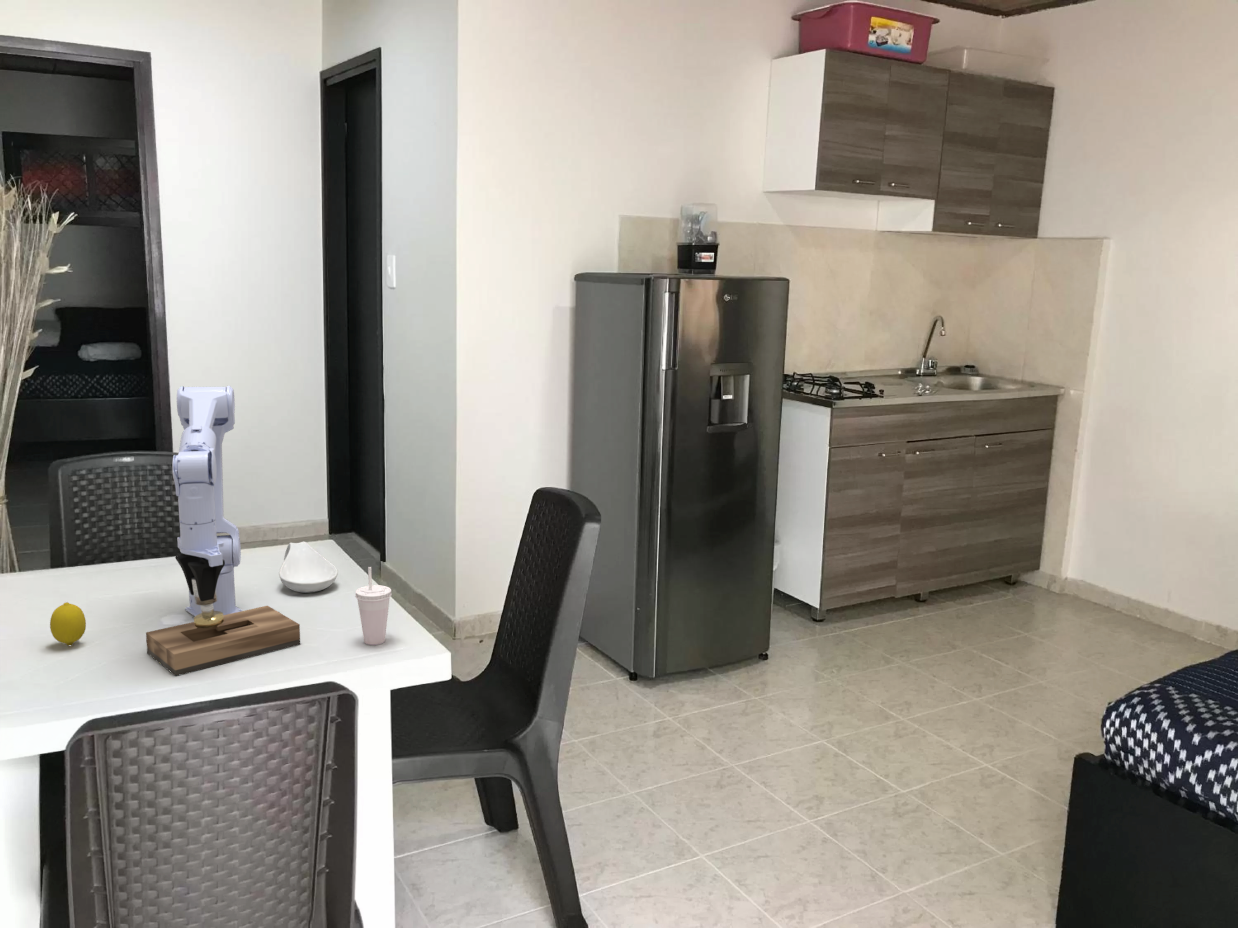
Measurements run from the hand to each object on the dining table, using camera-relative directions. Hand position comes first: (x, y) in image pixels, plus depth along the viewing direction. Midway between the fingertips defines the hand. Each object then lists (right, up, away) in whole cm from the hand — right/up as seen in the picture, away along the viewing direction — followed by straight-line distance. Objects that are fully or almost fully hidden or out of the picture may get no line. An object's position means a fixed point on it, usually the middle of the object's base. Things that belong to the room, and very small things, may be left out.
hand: (202, 596), depth 176 cm
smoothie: (+27, -10, +10) cm, 31 cm away
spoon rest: (+4, -3, +43) cm, 43 cm away
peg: (+1, -5, +2) cm, 5 cm away
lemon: (-25, -9, +4) cm, 27 cm away
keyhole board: (+2, -10, +4) cm, 11 cm away
